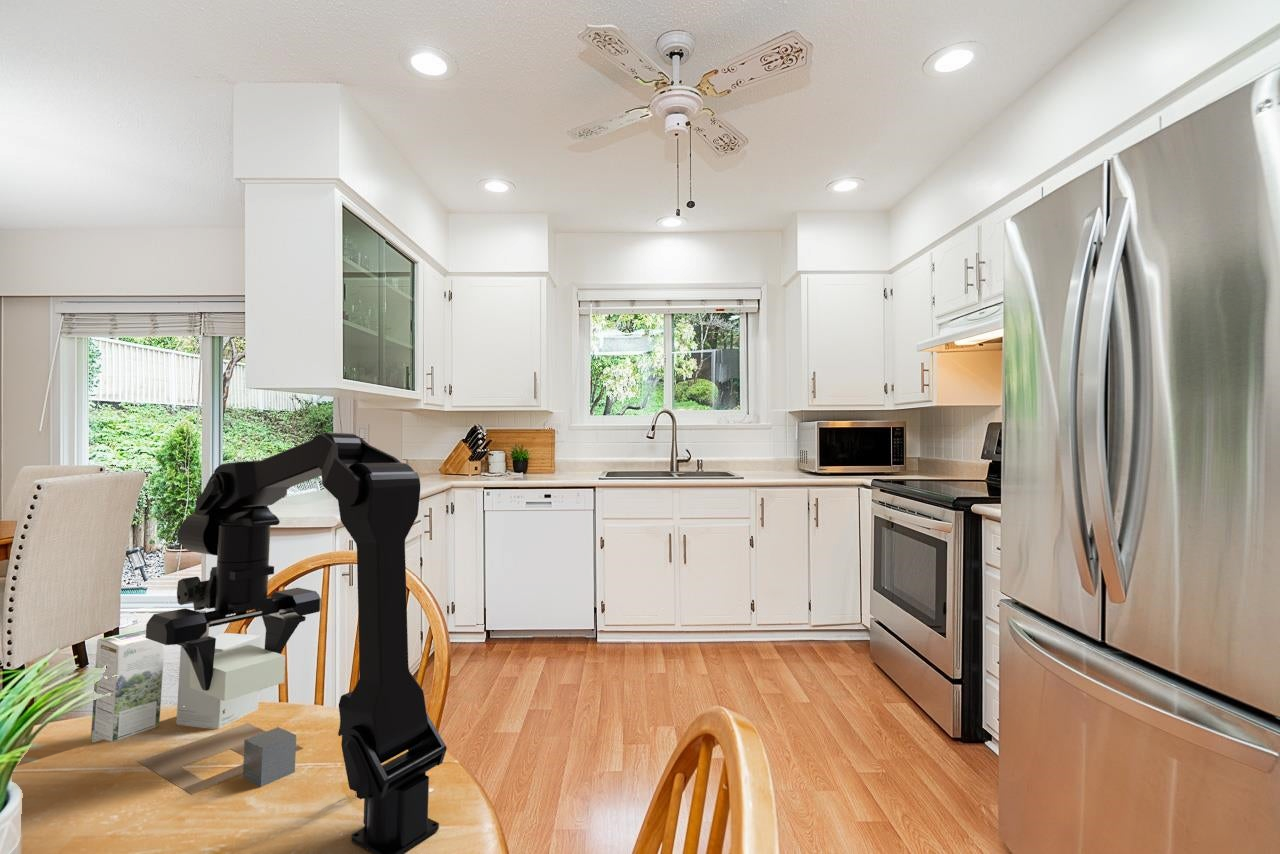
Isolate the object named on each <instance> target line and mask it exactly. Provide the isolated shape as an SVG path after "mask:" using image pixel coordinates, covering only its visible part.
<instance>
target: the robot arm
mask: <svg viewBox="0 0 1280 854" xmlns="http://www.w3.org/2000/svg"><path fill="white" fill-rule="evenodd" d="M319 477H321V484H322V486H323V487H324V488H325V489H326V490H327V491H328V492H329V493H330V494H331V495H332V496H333V497H334V498H335V499H336V500H337V503H338V509H339V516H340V518H339V519H340V521H341V523H342V525H343V527H344V528H345V529H346V531H347V533H348V534H349V535H350V538H352V539H353V541H354V542H355V545H356V565H357V572H356V573H357V610H358V611H357V613H358V614H357V615H358V620H357V621H358V657H359V658H358V661H359V663H358V664H359V674H358V675H359V677H358V678H359V679H358V681H357V683H356V685H355V686H354V688H353V690H352V691H350V692H347V693H344V694H342V695H341V696H340V699H339V703H338V712H339V728H338V729H339V730H338V732H337V736H339V737H341V749H342V756H343V761H344V767H345V772H346V777H347V783H348V787H349V790H351V791H353V792H355V793H356V798H357V799H359V800H363V801H364V802H363V825H364V827H362V828H361V829H359V830H357V831H355V832H353V833H352V834H351V836H350V837H351V838H350V840H351V842H352V843H354V844H356V845H358V846H360V847H361V848H364V849H365V850H367V851H368V852H370V853H372V854H403V853H405V852H406V851H408V850H409V849H411V848H412V847H414V846H416V845H417V844H418V843H420V842H421V841H423V840H425V839H426V838H428V837H430V835H432V834H434V833H435V832H436V831H438V830H440V823H439V822H437V821H435V820H433V819H431V818H429V794H430V793H429V792H430V790H429V788H430V787H429V785H430V777H429V776H428V775H426V774H427V772H428V771H430V770H432V769H434V768H436V766H440V765H441V764H443V762H444V759H445V756H446V754H447V753H446V752H447V749H448V748H447V745H446V743H445V741H444V740H443V738H442V736H441V735H440V733H439V731H438V730H437V727H435V724H434V722H433V721H432V719H431V718H430V716H429V714H428V712H427V707H426V700H425V693H424V690H423V688H422V687H421V685H420V684H419V682H418V681H417V680H416V678H415V677H414V676H413V674H412V672H410V667H409V641H408V640H409V639H408V633H409V632H408V607H407V606H408V605H407V573H406V572H407V571H406V570H407V569H406V566H407V565H406V539H407V537H408V535H409V534H410V531H411V529H412V527H413V525H414V523H415V521H416V519H418V515H419V508H420V507H419V506H420V499H421V497H420V496H421V480H420V477H419V474H418V472H417V471H415V470H414V469H413V468H412V466H410V465H409V464H407V463H405V462H401V461H400V460H399V459H398V458H397V457H395V456H393V455H392V454H388V453H386V452H385V451H382V450H380V449H378V448H377V447H374V446H372V445H370V444H369V443H368V442H366V440H364V438H362V437H361V436H358V435H356V434H354V433H345V432H343V433H342V432H322V433H320V434H316V435H315V436H314V437H313V438H312V439H310V440H308V441H305V442H303V443H300V444H298V445H296V446H293V447H290V448H288V449H285V450H283V451H281V452H278V453H276V454H273V455H271V456H268V457H266V458H264V459H261V460H251V461H250V460H249V461H236V462H234V461H233V462H228V463H221V464H220V465H218V466H217V467H216V468H215V469H214V471H213V473H212V474H211V476H210V477H209V479H208V482H207V483H206V485H205V487H204V489H203V491H202V492H201V494H200V495H199V497H198V498H197V500H196V501H195V503H194V504H195V508H194V510H193V513H191V514H190V515H189V516H187V517H186V518H185V519H184V520H183V522H181V525H180V528H179V529H178V531H177V536H178V541H179V543H180V545H181V546H182V547H183V548H184V549H186V551H188V552H193V553H198V554H204V555H211V556H217V558H216V559H217V560H216V566H213V567H211V570H210V572H209V579H208V580H203V581H201V579H200V577H199V576H192V577H186V578H182V579H179V580H177V587H176V598H177V604H178V605H180V606H183V605H189V604H193V609H190V608H186V607H185V608H181V609H175V610H169V611H164V612H159V613H154V614H152V616H151V617H150V618H149V619H148V621H147V622H146V625H145V626H146V628H145V630H146V638H147V639H150V640H153V641H156V642H159V643H161V644H164V645H165V646H174V645H177V646H179V647H181V646H182V647H183V648H184V650H185V651H186V653H187V655H188V656H189V658H190V660H191V663H192V665H193V668H194V670H195V673H196V675H197V678H198V680H199V683H200V686H201V688H202V689H203V690H205V691H207V690H209V688H210V684H211V680H212V675H213V664H214V653H215V643H216V638H213V637H212V636H209V632H210V630H209V629H210V628H212V627H217V626H221V625H226V624H227V625H228V624H230V623H234V622H240V621H244V620H249V619H253V618H258V617H261V618H262V621H263V624H264V627H265V637H264V638H265V639H264V649H266V650H269V651H272V652H276V653H279V654H282V652H283V650H284V649H285V647H286V645H287V643H288V642H289V641H290V638H291V637H292V635H293V634H294V633H295V630H297V628H298V626H299V625H300V623H302V622H305V621H306V615H307V616H308V615H312V614H315V613H320V611H321V605H322V603H321V602H322V598H321V596H320V594H319V593H318V592H317V591H316V590H310V589H307V588H301V587H294V588H289V589H283V590H282V589H281V590H278V591H274V592H273V593H272V595H271V596H268V592H269V591H268V589H269V588H268V587H269V586H268V585H269V575H274V574H275V566H273V565H269V563H270V562H269V561H270V540H271V526H277V525H279V524H281V522H280V519H279V518H278V516H277V515H276V514H274V513H273V512H272V511H271V510H270V508H269V506H272V505H274V504H276V503H277V502H278V501H280V500H282V499H283V498H285V497H286V496H287V494H288V489H290V488H292V487H294V486H297V485H299V484H302V483H305V482H308V481H311V480H313V479H316V478H319ZM204 609H208V610H209V609H214V610H211V611H207V612H206V611H204V612H200V611H201V610H204ZM407 750H408V751H407ZM400 754H401V755H400ZM398 755H399V756H398ZM394 757H395V758H394ZM392 758H393V759H392ZM390 759H392V760H390ZM385 762H386V763H385Z"/></svg>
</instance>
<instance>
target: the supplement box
mask: <svg viewBox="0 0 1280 854" xmlns="http://www.w3.org/2000/svg"><path fill="white" fill-rule="evenodd" d="M211 637H213V638H216V643H215V653H218V652H222V651H226V650H230V649H234V648H238V647H242V646H246V645H253V646H256V647H259V648H262V635H258V634H246V633H244V634H243V633H232V632H231V633H230V632H222V633H219V634H216V635H213V636H211ZM190 664H191V660H190V658H189V656H188V655H187V653H186V651H185V650H184V648H183V647H182V646H180V655H179V670H178V673H179V674H178V687H177V688H178V690H177V707H176V708H177V709H176V722H175V723H176V725H178V726H186V727H193V728H201V729H212V730H219V729H221V728H224V727H225V726H227V725H229V724H231V723H233V722H235V721H238V720H239V719H241V718H243V717H245V716H247V715H249V714H251V713H253V712H255V711H257V710H258V709H259V700H260V699H259V695H260V694H259V693H260V690H259V691H256V692H253V693H249V694H246V695H243V696H240V697H237V698H234V699H230V700H227V701H222V700H220V699H217V698H215V697H213V696H210V695H208V694H205V693H203V692H200V691H198V690H195V689H193V688H190V687H189V685H190ZM183 706H185V707H183Z"/></svg>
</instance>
